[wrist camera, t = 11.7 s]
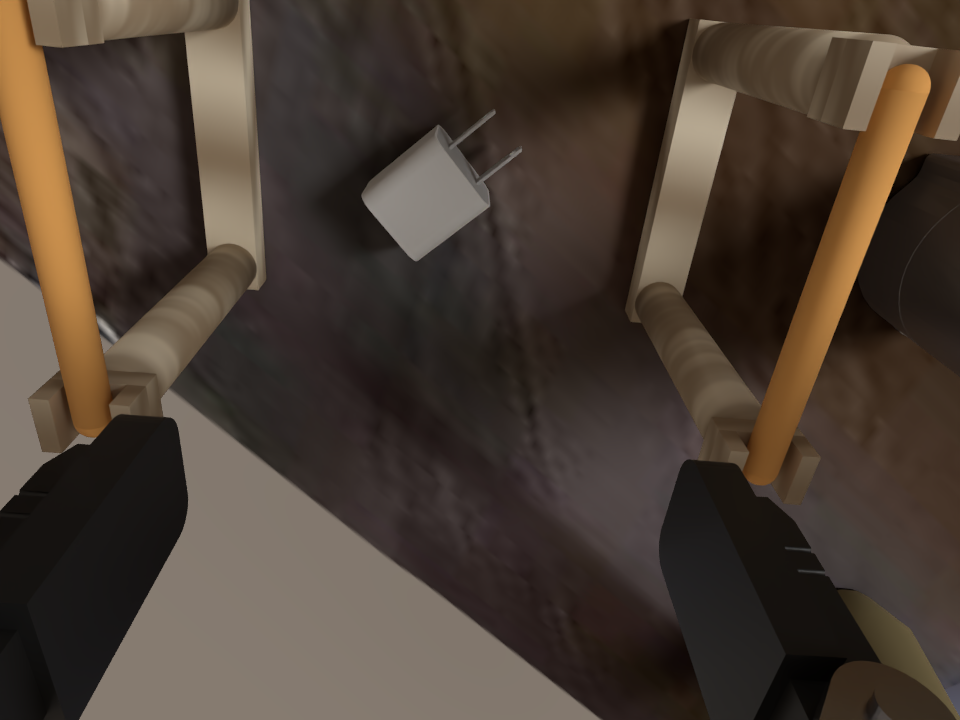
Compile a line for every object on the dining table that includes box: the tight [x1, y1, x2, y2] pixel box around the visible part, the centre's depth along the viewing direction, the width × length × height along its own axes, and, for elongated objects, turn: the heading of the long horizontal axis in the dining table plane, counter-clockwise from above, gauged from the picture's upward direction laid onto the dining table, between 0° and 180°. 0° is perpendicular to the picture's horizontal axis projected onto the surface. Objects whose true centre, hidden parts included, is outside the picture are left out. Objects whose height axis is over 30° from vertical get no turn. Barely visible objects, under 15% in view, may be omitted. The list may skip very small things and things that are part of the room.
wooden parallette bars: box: [27, 0, 960, 505], centre depth 25 cm, size 14×25×16 cm, turn 84°
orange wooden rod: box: [742, 64, 931, 485], centre depth 19 cm, size 13×1×1 cm, turn 174°
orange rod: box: [0, 0, 113, 438], centre depth 18 cm, size 13×1×1 cm, turn 174°
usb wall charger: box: [361, 109, 522, 261], centre depth 31 cm, size 4×7×4 cm, turn 127°
